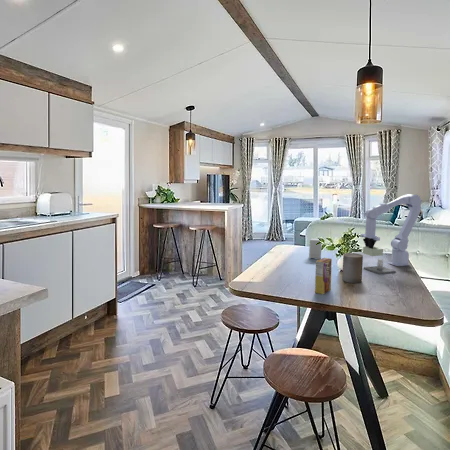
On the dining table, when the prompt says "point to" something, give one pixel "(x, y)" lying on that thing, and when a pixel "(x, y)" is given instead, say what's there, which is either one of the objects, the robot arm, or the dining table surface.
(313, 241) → the supplement box
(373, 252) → the collar
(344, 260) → the pillar candle
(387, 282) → the dining table surface
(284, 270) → the dining table surface
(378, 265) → the post stand
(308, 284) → the dining table surface
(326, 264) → the candy box
